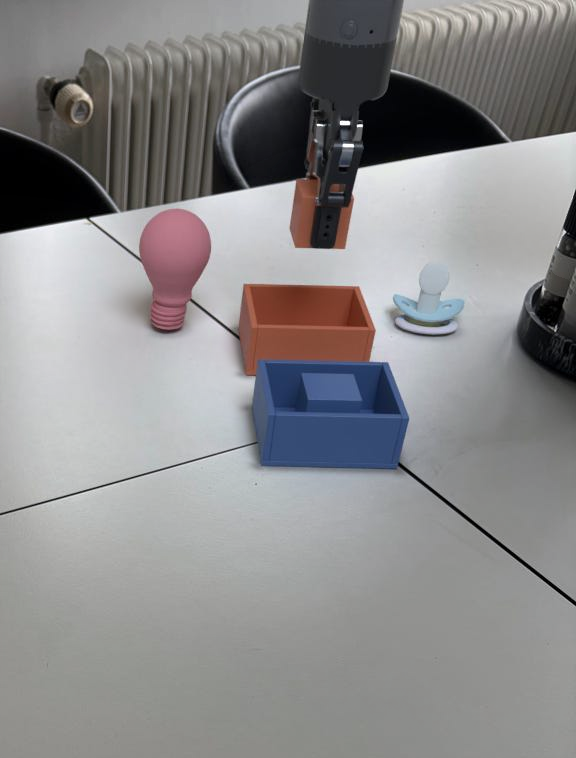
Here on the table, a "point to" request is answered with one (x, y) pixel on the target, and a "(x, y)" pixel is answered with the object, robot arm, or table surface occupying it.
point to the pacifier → (429, 304)
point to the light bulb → (173, 262)
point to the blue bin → (328, 418)
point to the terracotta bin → (304, 324)
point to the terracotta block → (305, 214)
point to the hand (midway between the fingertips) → (317, 235)
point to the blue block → (328, 393)
